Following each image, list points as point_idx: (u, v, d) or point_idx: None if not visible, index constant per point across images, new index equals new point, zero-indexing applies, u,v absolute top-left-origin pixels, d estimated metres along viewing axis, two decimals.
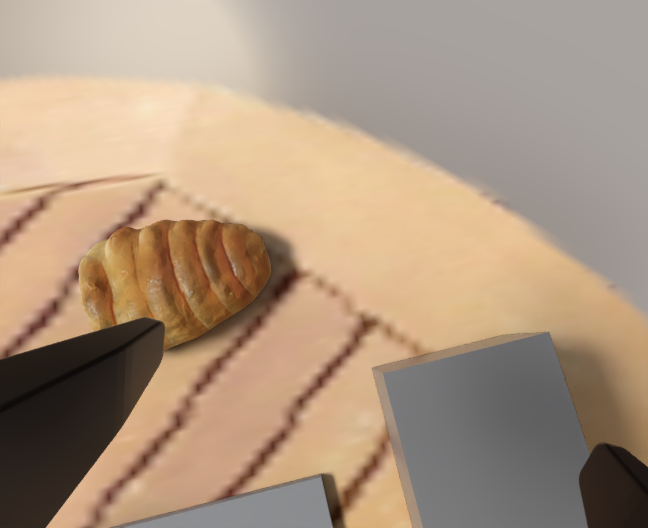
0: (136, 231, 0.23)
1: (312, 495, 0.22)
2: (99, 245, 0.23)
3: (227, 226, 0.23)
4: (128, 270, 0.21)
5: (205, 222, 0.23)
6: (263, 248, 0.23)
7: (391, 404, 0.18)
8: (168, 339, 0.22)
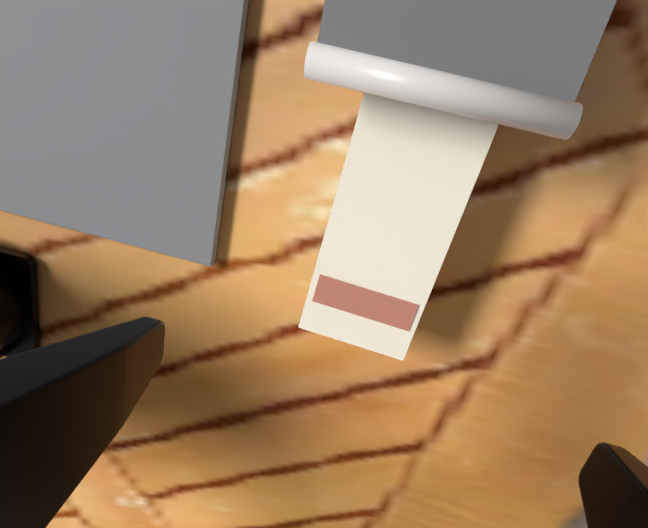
0: None
1: None
2: None
3: None
4: None
5: None
6: None
7: None
8: None
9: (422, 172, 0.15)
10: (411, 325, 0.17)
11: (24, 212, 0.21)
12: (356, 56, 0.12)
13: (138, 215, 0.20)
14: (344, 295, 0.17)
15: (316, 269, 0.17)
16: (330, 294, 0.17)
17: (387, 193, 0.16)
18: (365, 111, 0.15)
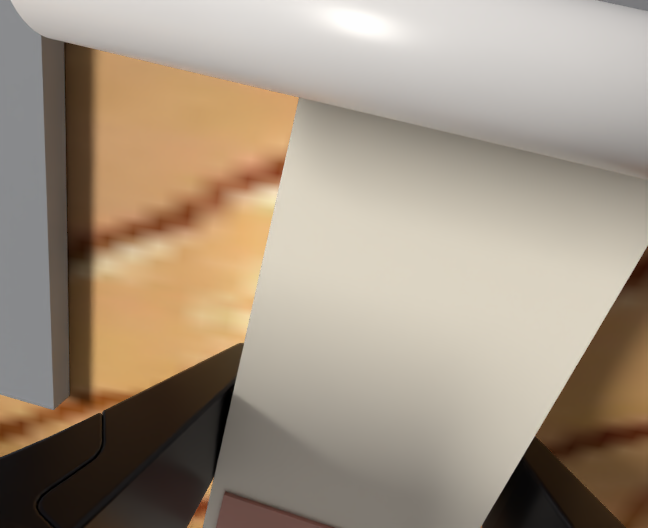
0: None
1: None
2: None
3: None
4: None
5: None
6: None
7: None
8: None
9: (457, 300, 0.06)
10: None
11: None
12: None
13: None
14: None
15: (217, 481, 0.08)
16: None
17: (368, 342, 0.06)
18: (303, 143, 0.05)
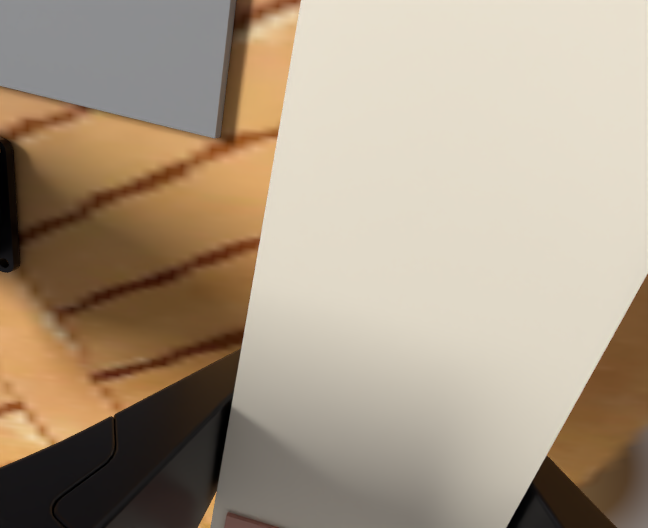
0: None
1: None
2: None
3: None
4: None
5: None
6: None
7: None
8: None
9: (461, 306, 0.06)
10: None
11: None
12: None
13: (130, 76, 0.17)
14: None
15: (218, 502, 0.08)
16: None
17: (369, 353, 0.06)
18: (292, 145, 0.05)
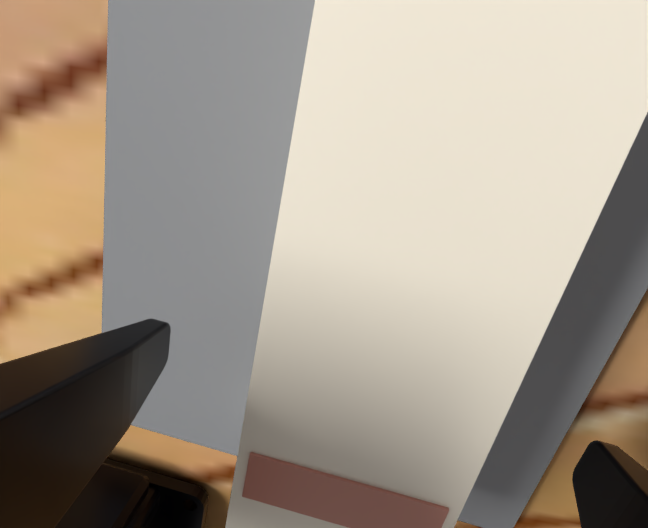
0: None
1: None
2: None
3: None
4: None
5: None
6: None
7: None
8: None
9: (445, 263, 0.07)
10: None
11: (208, 442, 0.14)
12: None
13: None
14: (301, 489, 0.09)
15: (243, 443, 0.09)
16: (274, 487, 0.09)
17: (369, 306, 0.07)
18: (304, 134, 0.06)
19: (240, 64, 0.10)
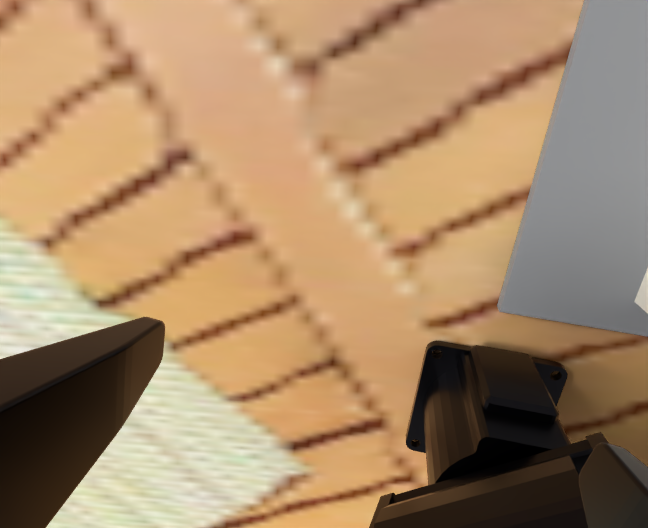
0: None
1: None
2: None
3: None
4: None
5: None
6: None
7: None
8: None
9: None
10: None
11: (583, 321, 0.20)
12: None
13: None
14: None
15: None
16: None
17: None
18: None
19: None
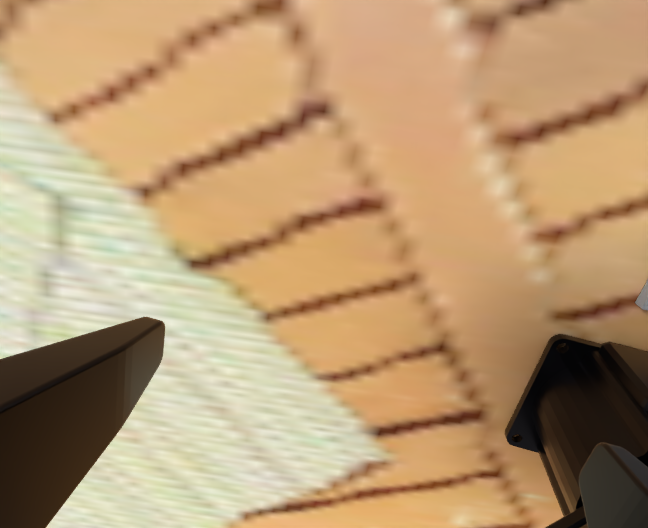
0: None
1: None
2: None
3: None
4: None
5: None
6: None
7: None
8: None
9: None
10: None
11: None
12: None
13: None
14: None
15: None
16: None
17: None
18: None
19: None
